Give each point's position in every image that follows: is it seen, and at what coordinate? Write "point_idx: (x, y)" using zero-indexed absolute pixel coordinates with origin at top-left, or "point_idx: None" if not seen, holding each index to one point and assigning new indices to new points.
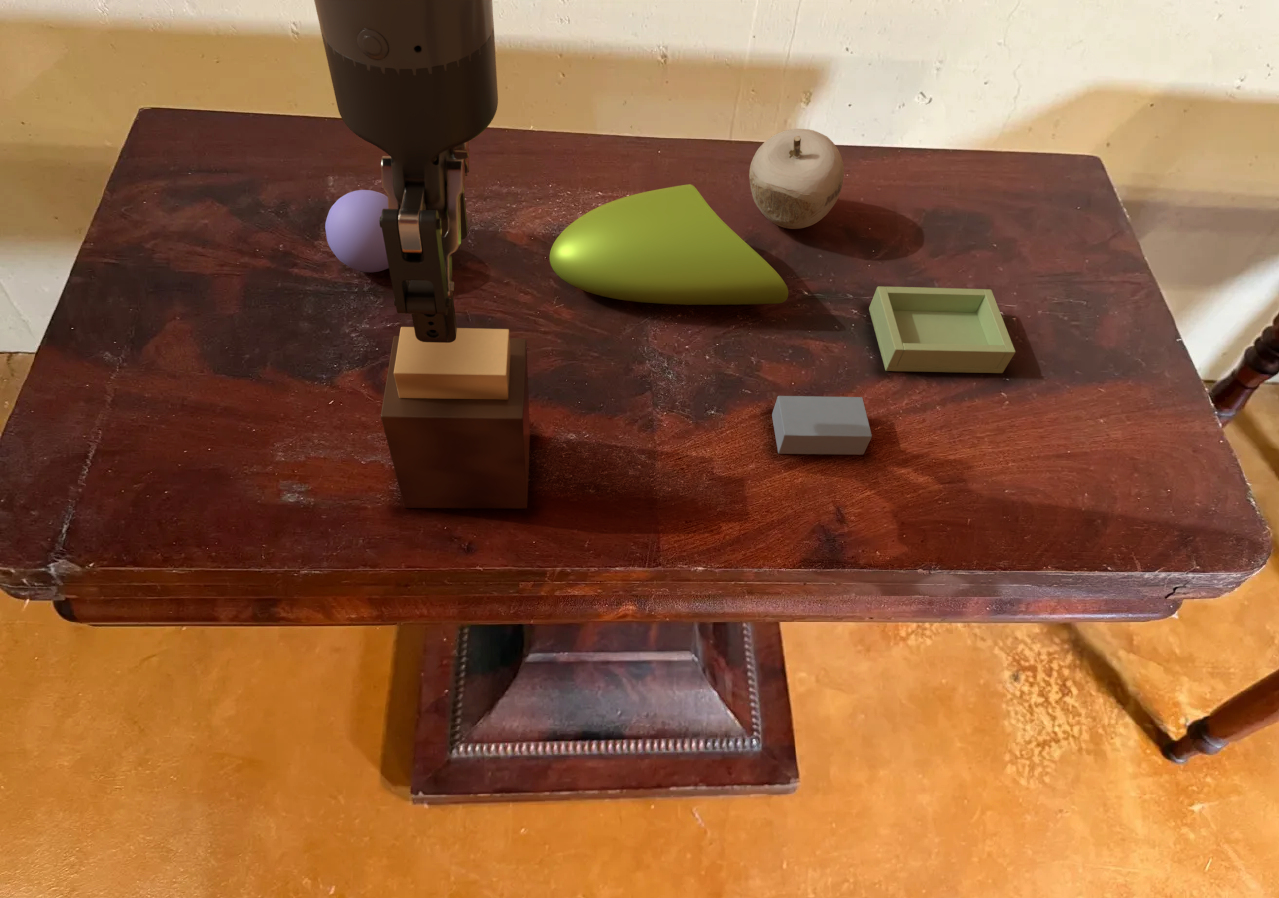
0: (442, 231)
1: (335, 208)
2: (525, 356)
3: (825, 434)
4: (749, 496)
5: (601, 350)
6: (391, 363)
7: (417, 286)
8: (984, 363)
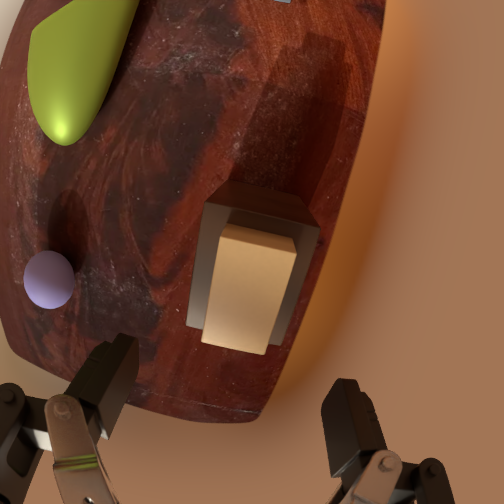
0: (133, 369)
1: (40, 306)
2: (231, 206)
3: None
4: (324, 34)
5: (151, 107)
6: None
7: (394, 501)
8: None
